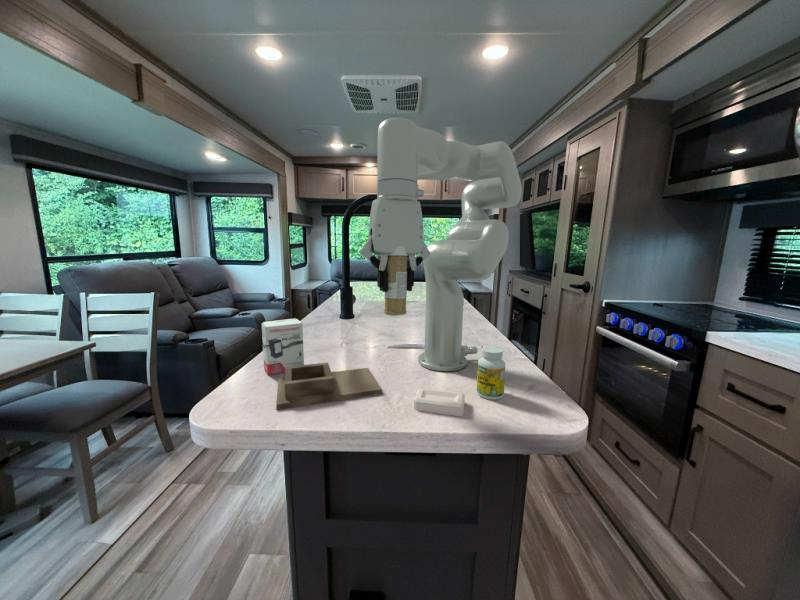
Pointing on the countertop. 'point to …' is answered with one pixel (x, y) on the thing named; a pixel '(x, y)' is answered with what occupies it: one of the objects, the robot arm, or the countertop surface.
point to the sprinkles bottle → (396, 283)
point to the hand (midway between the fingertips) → (395, 289)
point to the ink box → (282, 345)
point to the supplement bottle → (491, 374)
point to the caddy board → (323, 385)
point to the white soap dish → (439, 402)
